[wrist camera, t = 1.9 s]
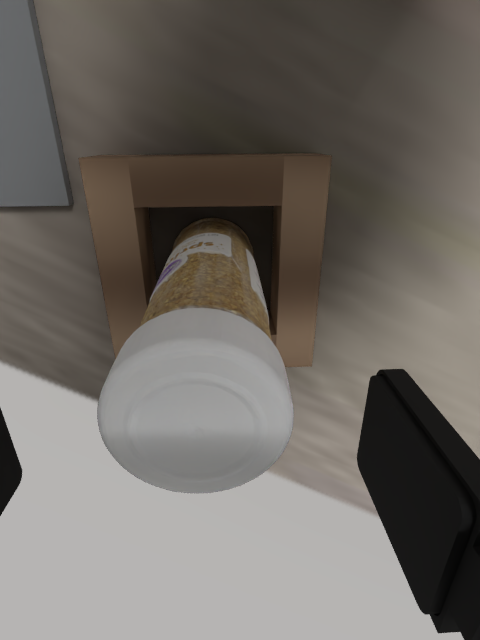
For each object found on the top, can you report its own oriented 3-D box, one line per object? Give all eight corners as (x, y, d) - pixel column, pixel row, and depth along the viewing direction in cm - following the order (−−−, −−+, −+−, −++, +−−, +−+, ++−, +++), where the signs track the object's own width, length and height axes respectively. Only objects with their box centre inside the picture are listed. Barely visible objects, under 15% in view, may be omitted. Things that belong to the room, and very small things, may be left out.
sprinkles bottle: (190, 201, 19) (128, 310, 7) (268, 238, 20) (336, 390, 8) (160, 278, 21) (67, 472, 9) (233, 308, 22) (244, 521, 10)
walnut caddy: (100, 155, 18) (78, 157, 15) (315, 153, 18) (332, 155, 15) (130, 343, 22) (117, 371, 20) (301, 339, 23) (311, 366, 20)
